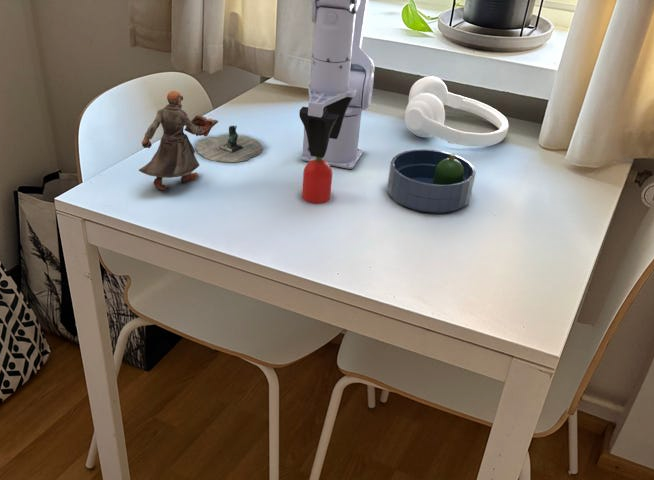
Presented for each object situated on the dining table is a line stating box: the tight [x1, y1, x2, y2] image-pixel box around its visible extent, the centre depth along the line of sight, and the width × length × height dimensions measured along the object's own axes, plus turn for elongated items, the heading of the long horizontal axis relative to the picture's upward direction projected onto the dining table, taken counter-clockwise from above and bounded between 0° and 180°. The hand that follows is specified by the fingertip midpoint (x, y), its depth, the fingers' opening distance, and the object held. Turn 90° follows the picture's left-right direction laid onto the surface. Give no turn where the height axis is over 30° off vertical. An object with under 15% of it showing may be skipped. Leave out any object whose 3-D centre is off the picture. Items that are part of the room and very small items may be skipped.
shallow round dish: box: [386, 148, 477, 214], centre depth 122 cm, size 14×14×5 cm
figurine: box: [138, 90, 219, 191], centre depth 118 cm, size 14×7×15 cm, turn 110°
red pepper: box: [301, 157, 333, 204], centre depth 119 cm, size 5×5×7 cm
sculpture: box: [194, 125, 265, 163], centre depth 135 cm, size 12×9×8 cm
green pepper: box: [433, 153, 464, 185], centre depth 121 cm, size 5×5×7 cm
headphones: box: [404, 75, 510, 147], centre depth 144 cm, size 20×8×20 cm
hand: (324, 146), depth 116 cm, fingers open, 7 cm apart
